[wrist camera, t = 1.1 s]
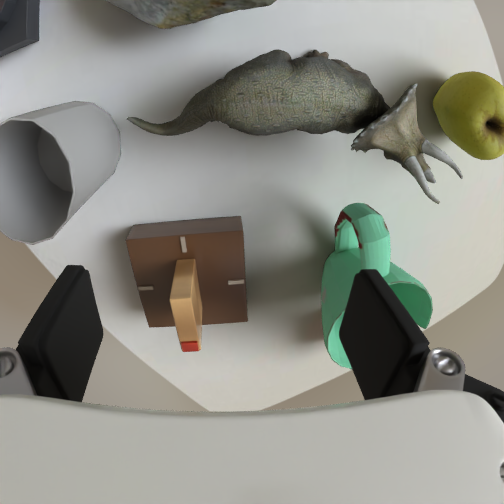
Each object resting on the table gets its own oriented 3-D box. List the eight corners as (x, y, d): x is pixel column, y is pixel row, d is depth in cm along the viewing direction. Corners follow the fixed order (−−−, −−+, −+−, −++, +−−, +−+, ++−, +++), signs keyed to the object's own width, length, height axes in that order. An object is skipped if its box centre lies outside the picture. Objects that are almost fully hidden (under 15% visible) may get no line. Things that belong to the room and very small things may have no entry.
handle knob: (176, 259, 27) (168, 301, 22) (195, 258, 27) (190, 300, 22) (185, 309, 30) (181, 353, 25) (202, 307, 30) (201, 352, 25)
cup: (79, 208, 27) (30, 265, 18) (26, 149, 23) (-40, 185, 15) (140, 148, 25) (100, 185, 16) (81, 81, 21) (17, 89, 13)
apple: (486, 70, 22) (552, 116, 15) (465, 132, 27) (519, 188, 21) (429, 48, 21) (500, 88, 14) (410, 120, 27) (464, 179, 20)
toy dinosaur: (137, 126, 24) (87, 159, 14) (149, 29, 20) (103, -2, 10) (383, 161, 27) (455, 208, 18) (402, 76, 23) (487, 88, 14)
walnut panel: (133, 224, 28) (124, 240, 26) (240, 215, 29) (243, 231, 26) (153, 308, 33) (148, 328, 31) (245, 303, 34) (248, 322, 31)
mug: (388, 286, 35) (427, 346, 26) (309, 313, 36) (333, 382, 27) (378, 166, 28) (438, 208, 19) (278, 194, 28) (305, 249, 20)
